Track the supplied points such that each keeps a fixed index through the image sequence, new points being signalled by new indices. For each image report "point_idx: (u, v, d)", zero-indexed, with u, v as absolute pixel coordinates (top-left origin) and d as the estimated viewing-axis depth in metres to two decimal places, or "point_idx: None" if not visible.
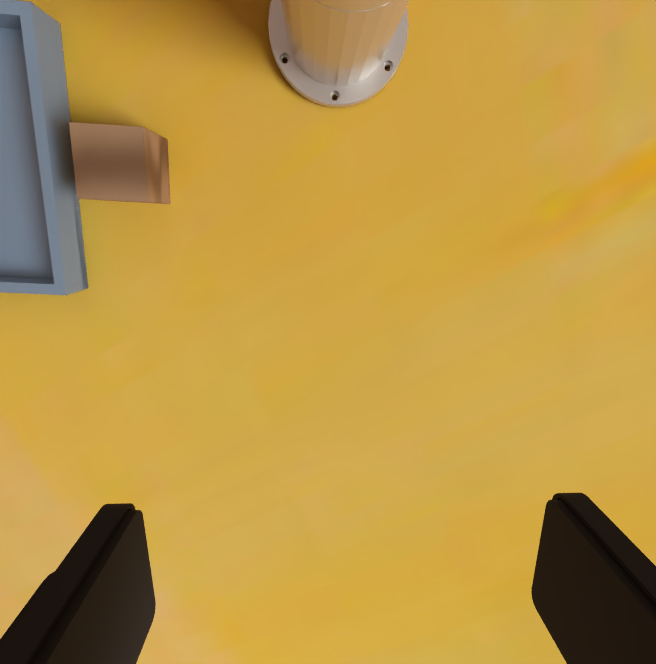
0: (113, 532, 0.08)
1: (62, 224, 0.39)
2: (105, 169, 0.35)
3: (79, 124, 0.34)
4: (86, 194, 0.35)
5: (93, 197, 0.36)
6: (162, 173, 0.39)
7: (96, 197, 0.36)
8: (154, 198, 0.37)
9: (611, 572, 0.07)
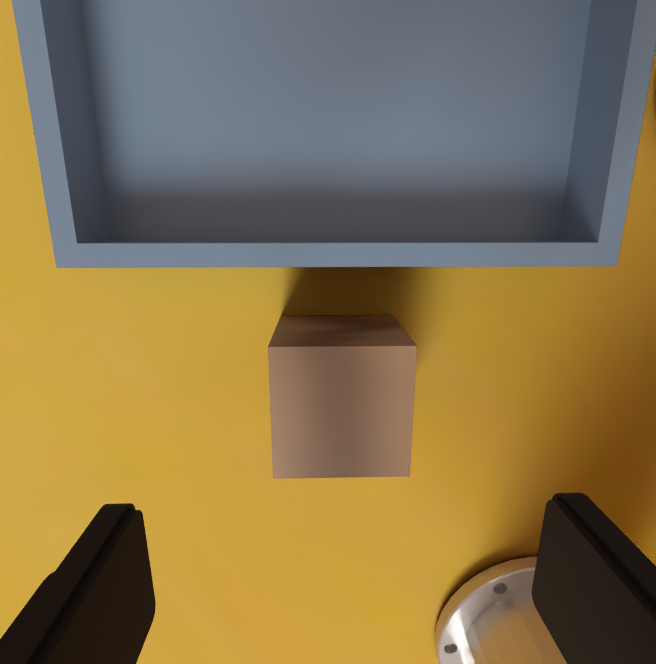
0: (113, 532, 0.08)
1: None
2: (329, 405, 0.17)
3: (412, 365, 0.17)
4: (277, 367, 0.17)
5: (272, 379, 0.17)
6: None
7: (273, 385, 0.17)
8: None
9: (611, 572, 0.07)
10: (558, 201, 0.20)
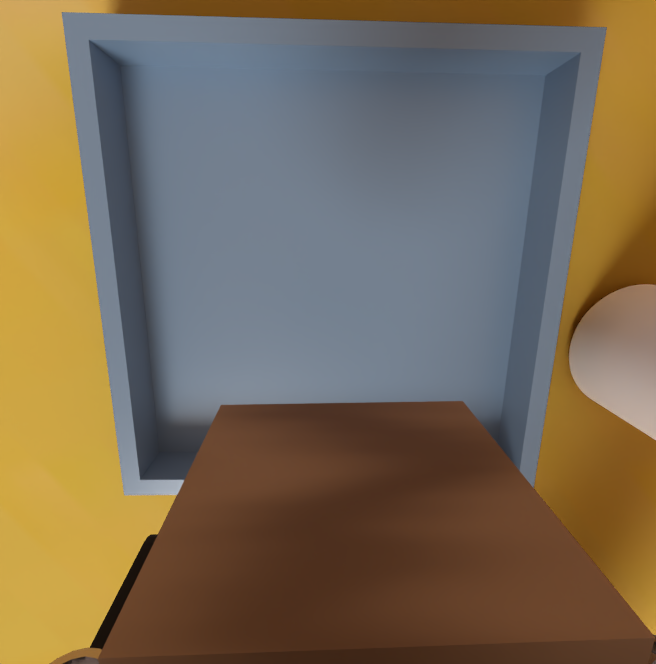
0: None
1: None
2: None
3: None
4: None
5: None
6: None
7: None
8: None
9: None
10: (496, 425, 0.27)
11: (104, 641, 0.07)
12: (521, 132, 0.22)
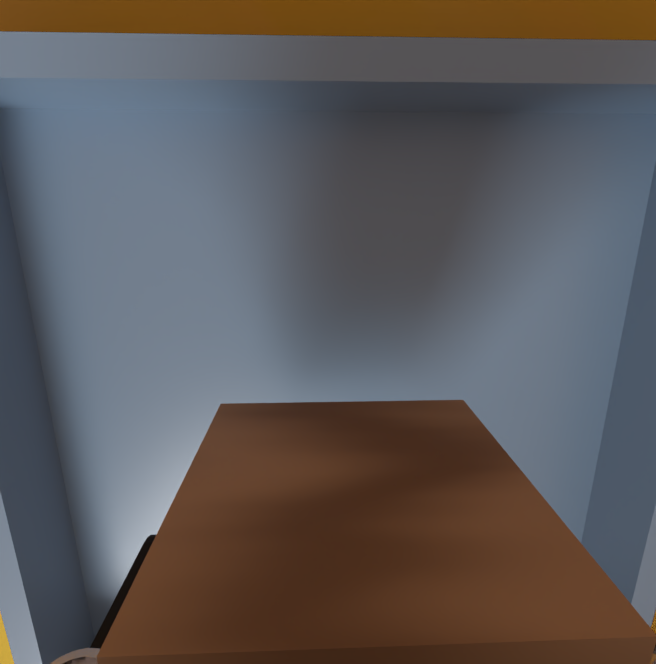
0: None
1: None
2: None
3: None
4: None
5: None
6: None
7: None
8: None
9: None
10: None
11: None
12: (622, 200, 0.14)
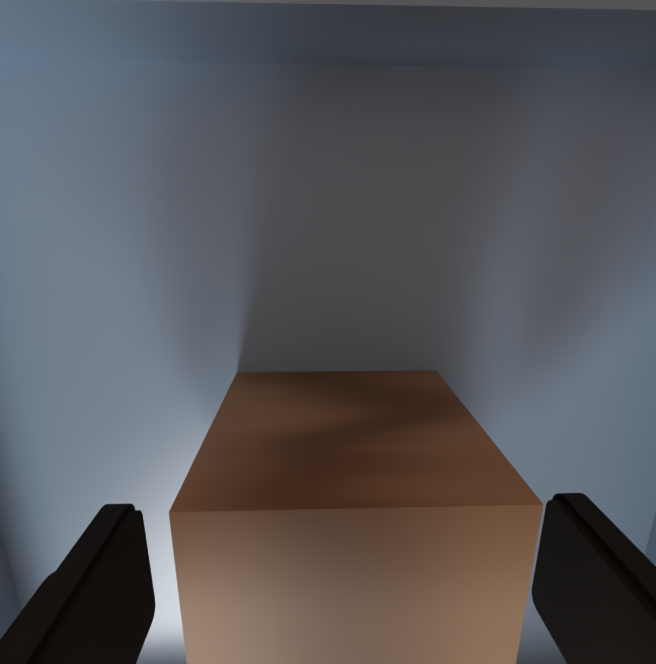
0: (113, 532, 0.08)
1: None
2: (326, 633, 0.07)
3: (528, 547, 0.07)
4: (196, 556, 0.07)
5: (185, 583, 0.07)
6: None
7: (188, 594, 0.07)
8: None
9: (611, 572, 0.07)
10: None
11: None
12: None
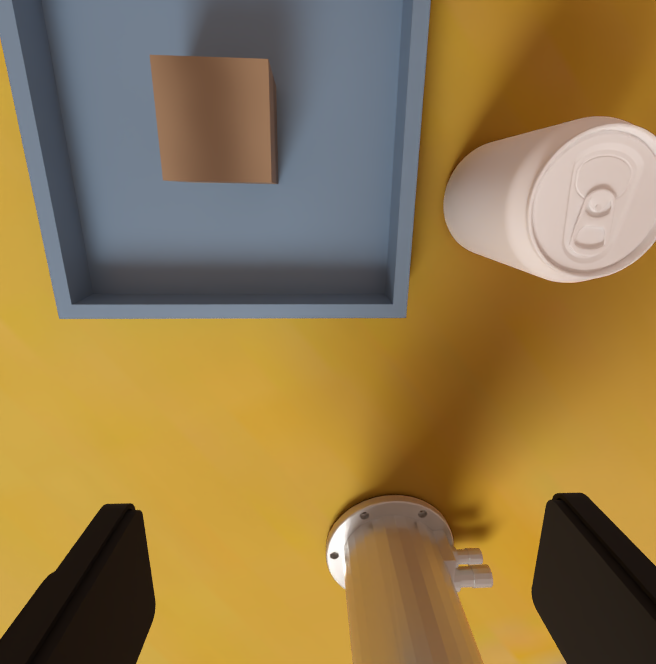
0: (113, 532, 0.08)
1: None
2: (203, 113, 0.22)
3: (266, 77, 0.21)
4: (158, 74, 0.21)
5: (155, 86, 0.21)
6: None
7: (156, 91, 0.21)
8: None
9: (611, 572, 0.07)
10: (383, 270, 0.31)
11: None
12: None
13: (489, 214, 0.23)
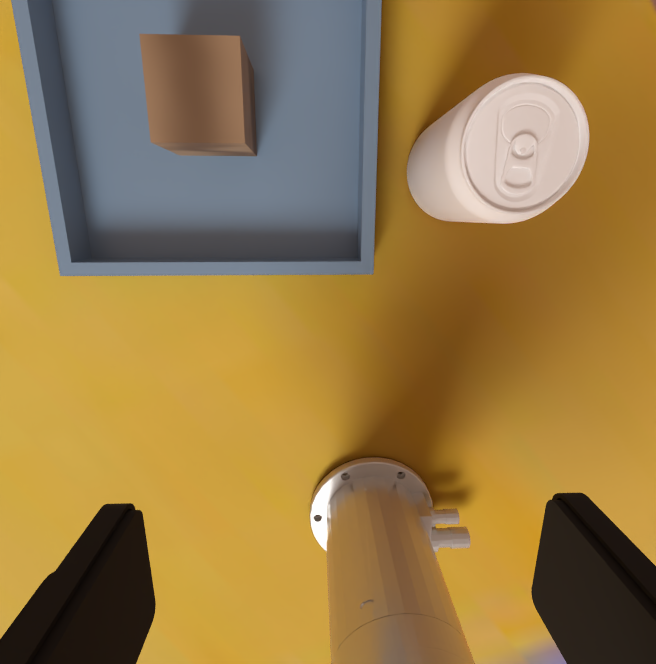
0: (113, 532, 0.08)
1: None
2: (185, 83, 0.25)
3: (238, 51, 0.25)
4: (147, 50, 0.25)
5: (144, 60, 0.25)
6: (209, 152, 0.30)
7: (145, 64, 0.25)
8: (165, 146, 0.28)
9: (611, 572, 0.07)
10: (354, 235, 0.34)
11: None
12: None
13: (435, 166, 0.26)
